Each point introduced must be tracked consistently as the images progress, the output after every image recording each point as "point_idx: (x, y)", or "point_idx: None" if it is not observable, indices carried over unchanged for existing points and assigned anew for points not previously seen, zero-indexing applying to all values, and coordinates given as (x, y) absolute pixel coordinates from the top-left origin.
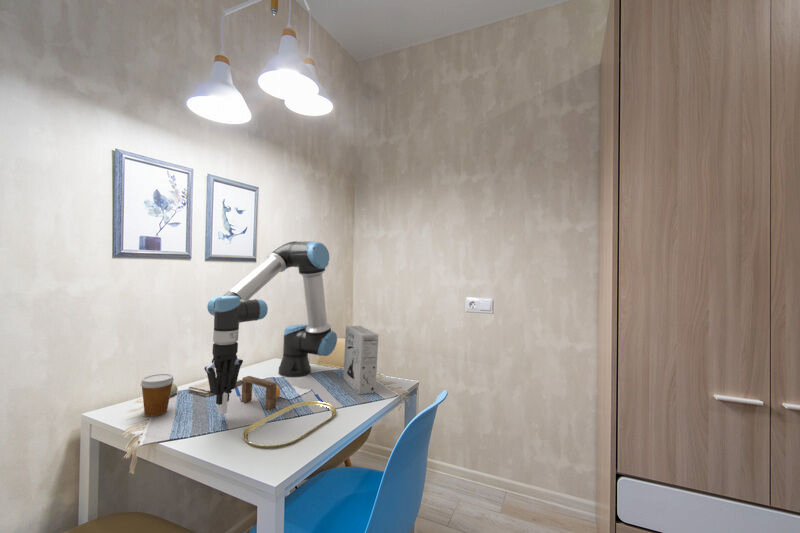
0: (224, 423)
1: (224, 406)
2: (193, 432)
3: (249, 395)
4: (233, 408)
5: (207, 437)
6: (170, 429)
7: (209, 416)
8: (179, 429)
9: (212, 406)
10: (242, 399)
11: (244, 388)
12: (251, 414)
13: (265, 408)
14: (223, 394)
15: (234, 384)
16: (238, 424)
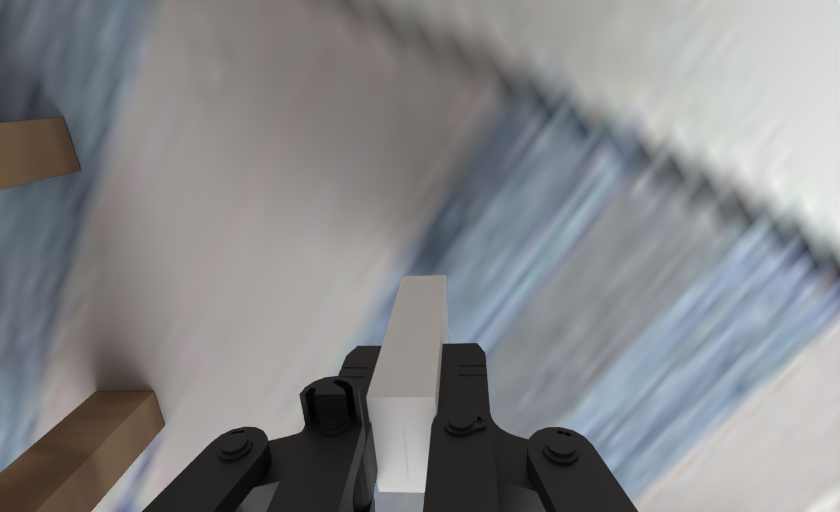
0: (455, 211)
1: (425, 309)
2: (692, 263)
3: (78, 425)
4: (258, 382)
5: (711, 86)
6: (729, 424)
7: None
8: (701, 381)
9: None
10: (147, 432)
11: (67, 498)
12: (213, 181)
13: (70, 166)
14: (426, 412)
15: (197, 488)
16: (395, 95)
